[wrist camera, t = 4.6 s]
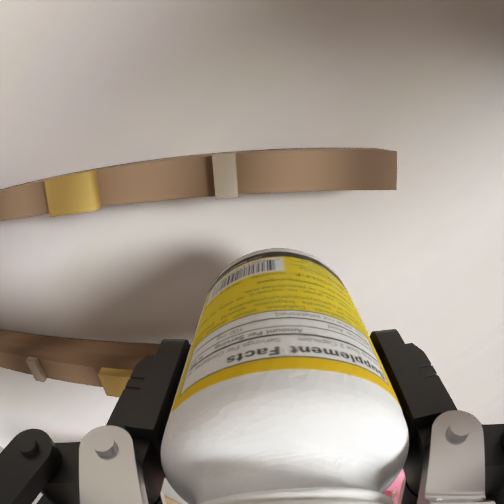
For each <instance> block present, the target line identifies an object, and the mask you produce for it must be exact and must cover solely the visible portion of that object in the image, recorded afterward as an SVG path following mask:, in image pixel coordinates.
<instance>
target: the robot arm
mask: <svg viewBox="0 0 504 504" xmlns="http://www.w3.org/2000/svg"><path fill="white" fill-rule="evenodd" d="M370 339H371V341H372V344H373V346H374V348H375V350H376V352H377V354H378V356H379V359H380V361H381V363H382V365H383V367H384V370H385V372H386V374H387V376H388V379H389V381H390V383H391V385H392V388H393V390H394V392H395V394H396V397H397V399H398V401H399V404H400V406H401V409H402V412H403V416H404V418H405V421H406V424H407V428H408V433H409V450H408V455H407V458H406V461H405V464H404V466H403V470H404V474H405V478H404V480H403V481H402V485H401V489H400V494H399V499H398V503H397V504H504V424H493V425H481V423H480V422H479V420H478V419H477V418H476V417H475V416H473V415H472V414H470V413H468V412H465V411H460V410H457V408H456V406H455V404H454V403H453V401H452V399H451V397H450V395H449V394H448V392H447V390H446V388H445V387H444V385H443V383H442V381H441V380H440V378H439V376H438V375H436V371H435V369H434V368H433V366H431V363H430V361H429V359H428V358H427V356H426V354H425V353H424V352H423V351H422V350H421V349H419V348H418V347H417V346H415V345H414V344H413V343H409V344H405V343H404V341H403V340H402V338H401V336H400V334H399V333H398V331H397V330H396V329H391V330H382V331H373V332H372V333H371V335H370ZM189 350H190V343H189V341H188V340H178V339H164V340H162V342H161V344H160V346H159V348H158V350H157V353H156V355H146V356H145V357H144V358H143V359H142V360H141V361H140V362H139V363H137V364H136V366H135V368H134V370H133V372H132V374H131V376H130V379H129V380H128V382H127V384H126V386H125V389H124V390H123V392H122V394H121V396H120V398H119V400H118V402H117V404H116V406H115V408H114V410H113V412H112V414H111V416H110V418H109V421H108V423H107V425H106V426H101V427H98V428H95V429H93V430H91V431H90V432H88V433H87V434H86V435H85V436H84V438H83V439H82V441H81V442H72V443H54V442H53V441H52V440H51V438H50V437H49V435H48V434H47V433H45V432H44V431H42V430H39V429H29V430H25V431H23V432H21V433H19V434H18V435H17V436H16V437H15V438H14V439H13V440H12V441H11V442H10V443H9V444H8V445H7V446H6V448H5V449H4V450H3V451H2V452H1V453H0V504H32V502H33V501H34V500H35V498H36V497H37V496H38V494H39V493H40V492H41V493H42V494H43V496H42V497H41V499H40V500H39V501H38V503H37V504H166V502H165V498H164V494H163V491H162V490H161V489H162V486H163V482H164V478H166V476H165V474H164V471H163V468H162V464H161V453H160V452H161V444H162V439H163V435H164V431H165V428H166V425H167V421H168V418H169V415H170V412H171V408H172V405H173V402H174V399H175V395H176V392H177V389H178V386H179V383H180V379H181V376H182V373H183V369H184V366H185V363H186V360H187V356H188V353H189Z"/></svg>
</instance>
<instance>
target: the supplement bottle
mask: <svg viewBox="0 0 504 504" xmlns="http://www.w3.org/2000/svg"><path fill="white" fill-rule="evenodd" d="M408 450H409V433H408V428H407V424H406V421H405V418H404V416H403V412H402V409H401V406H400V404H399V401H398V399H397V397H396V394H395V392H394V390H393V388H392V385H391V383H390V381H389V379H388V376H387V374H386V372H385V370H384V367H383V365H382V363H381V361H380V359H379V356H378V354H377V352H376V350H375V348H374V346H373V344H372V341H371V339H370V337H369V335H368V333H367V331H366V329H365V326H364V324H363V322H362V320H361V318H360V316H359V314H358V312H357V310H356V308H355V306H354V304H353V302H352V300H351V297H350V296H349V294H348V292H347V290H346V288H345V287H344V285H343V283H342V282H341V280H340V279H339V277H338V276H337V274H336V273H335V272H334V271H333V270H332V269H331V268H330V267H329V266H328V265H326V264H325V263H324V262H322V261H321V260H319V259H317V258H316V257H314V256H312V255H309V254H307V253H304V252H301V251H297V250H292V249H284V248H272V249H265V250H260V251H256V252H252V253H250V254H247V255H245V256H243V257H241V258H239V259H237V260H236V261H234V262H233V263H231V264H230V265H229V266H227V267H226V268H225V269H224V270H223V271H222V272H221V273H220V274H219V276H218V277H217V278H216V280H215V281H214V283H213V284H212V286H211V288H210V290H209V292H208V295H207V297H206V300H205V303H204V306H203V309H202V312H201V315H200V318H199V322H198V325H197V328H196V331H195V334H194V338H193V341H192V344H191V347H190V350H189V353H188V356H187V360H186V363H185V366H184V369H183V373H182V376H181V379H180V383H179V386H178V389H177V392H176V395H175V399H174V402H173V405H172V408H171V412H170V415H169V418H168V421H167V425H166V428H165V431H164V435H163V439H162V444H161V452H160V453H161V464H162V468H163V471H164V474H165V476H166V479H167V481H168V482H169V484H170V485H171V487H172V488H173V489H174V490H175V492H176V493H177V494H178V495H179V496H180V497H181V498H182V499H183V500H185V501H186V502H187V503H188V504H394V502H393V500H392V499H391V498H390V497H388V496H386V495H385V494H383V492H384V491H385V490H386V489H388V488H389V487H390V486H391V484H392V483H393V482H394V481H395V479H396V478H397V477H398V475H399V474H400V472H401V470H402V468H403V466H404V464H405V461H406V458H407V455H408Z"/></svg>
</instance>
